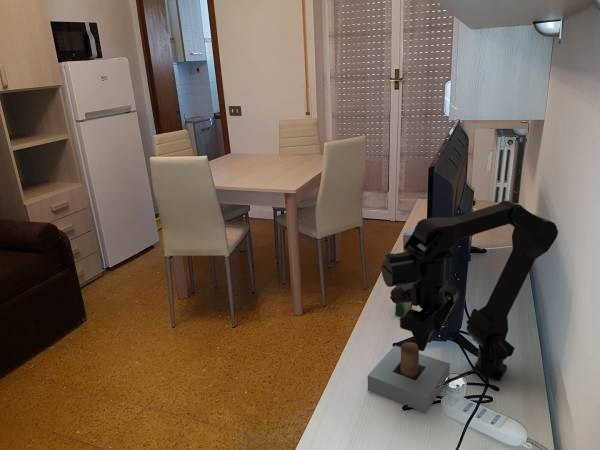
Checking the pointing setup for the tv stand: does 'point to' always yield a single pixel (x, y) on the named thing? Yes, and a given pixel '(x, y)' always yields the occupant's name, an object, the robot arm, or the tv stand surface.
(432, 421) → the tv stand surface
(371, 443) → the tv stand surface
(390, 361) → the socket block
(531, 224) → the robot arm
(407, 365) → the walnut peg
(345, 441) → the tv stand surface
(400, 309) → the crayon box
